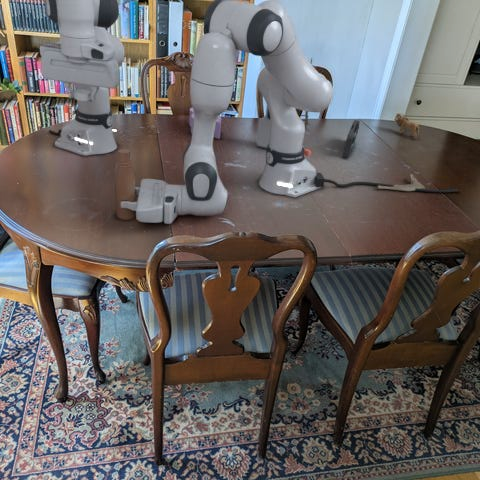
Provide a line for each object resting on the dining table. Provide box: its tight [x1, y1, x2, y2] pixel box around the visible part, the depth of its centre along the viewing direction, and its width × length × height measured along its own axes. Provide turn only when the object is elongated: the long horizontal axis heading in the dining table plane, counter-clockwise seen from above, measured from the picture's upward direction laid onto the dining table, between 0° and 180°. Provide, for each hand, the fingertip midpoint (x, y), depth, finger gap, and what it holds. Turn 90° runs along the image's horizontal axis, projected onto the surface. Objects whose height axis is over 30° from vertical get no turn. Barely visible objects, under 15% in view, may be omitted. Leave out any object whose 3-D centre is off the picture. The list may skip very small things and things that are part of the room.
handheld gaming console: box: [342, 119, 361, 159], centre depth 194 cm, size 23×3×10 cm, turn 161°
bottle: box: [113, 148, 136, 221], centre depth 131 cm, size 6×6×20 cm
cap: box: [73, 89, 90, 101], centre depth 128 cm, size 4×4×2 cm
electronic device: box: [255, 105, 271, 150], centre depth 183 cm, size 12×8×30 cm, turn 71°
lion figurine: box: [394, 112, 422, 140], centre depth 218 cm, size 15×5×9 cm, turn 50°
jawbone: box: [376, 173, 426, 193], centre depth 169 cm, size 9×20×2 cm, turn 126°
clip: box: [188, 106, 222, 140], centre depth 199 cm, size 20×12×7 cm, turn 23°
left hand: (82, 99), depth 128 cm, fingers closed on cap, 4 cm apart
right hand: (122, 198), depth 133 cm, fingers closed on bottle, 5 cm apart
